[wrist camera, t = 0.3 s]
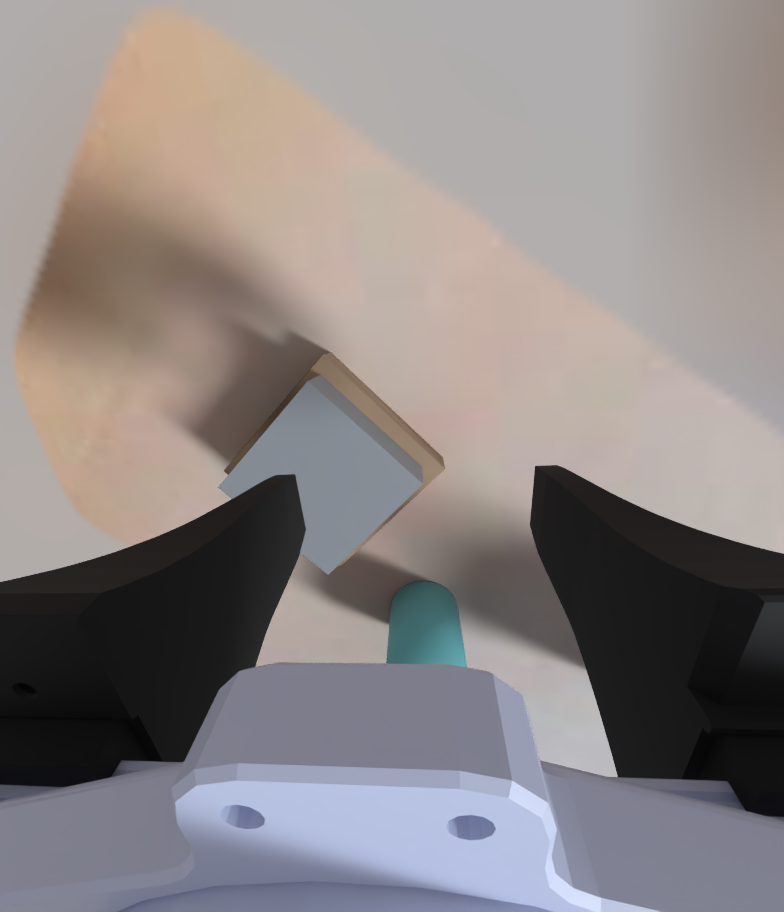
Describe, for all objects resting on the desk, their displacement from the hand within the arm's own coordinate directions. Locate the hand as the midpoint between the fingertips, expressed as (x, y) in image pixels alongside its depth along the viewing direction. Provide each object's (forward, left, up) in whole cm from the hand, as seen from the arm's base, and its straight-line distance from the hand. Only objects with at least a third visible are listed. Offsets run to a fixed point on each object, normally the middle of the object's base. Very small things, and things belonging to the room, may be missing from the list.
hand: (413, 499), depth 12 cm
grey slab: (-5, +2, -9) cm, 10 cm away
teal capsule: (-9, -9, -11) cm, 17 cm away
